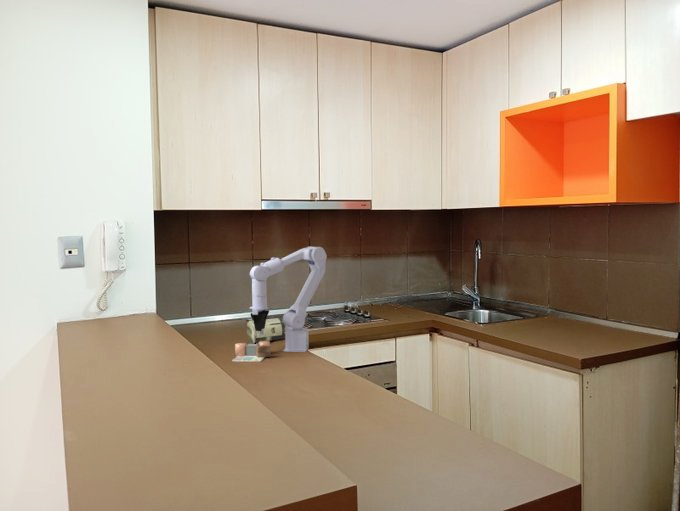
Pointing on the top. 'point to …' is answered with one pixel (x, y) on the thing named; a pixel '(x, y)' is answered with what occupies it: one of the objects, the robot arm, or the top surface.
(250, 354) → the matte grey cube
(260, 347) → the walnut block
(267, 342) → the peach rounded cylinder
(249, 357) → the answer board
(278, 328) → the coffee can
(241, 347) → the peach glossy domed part
